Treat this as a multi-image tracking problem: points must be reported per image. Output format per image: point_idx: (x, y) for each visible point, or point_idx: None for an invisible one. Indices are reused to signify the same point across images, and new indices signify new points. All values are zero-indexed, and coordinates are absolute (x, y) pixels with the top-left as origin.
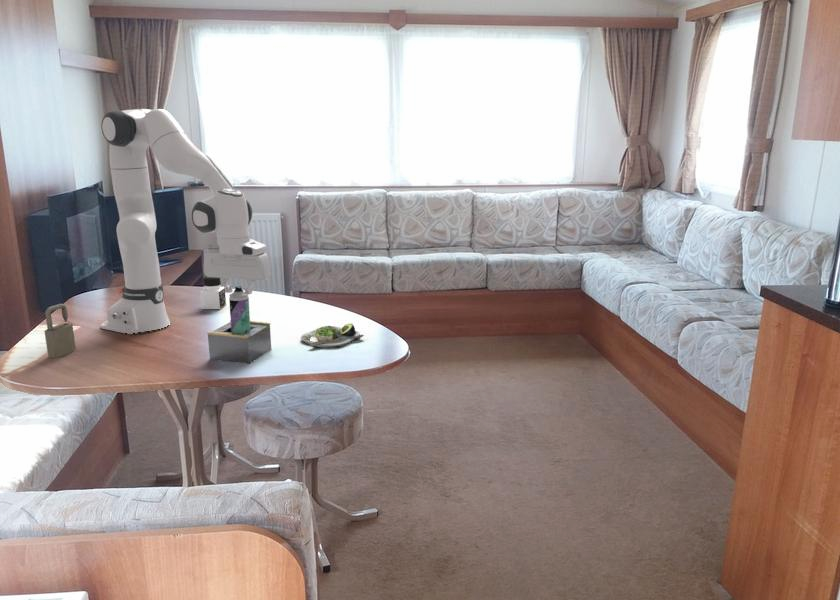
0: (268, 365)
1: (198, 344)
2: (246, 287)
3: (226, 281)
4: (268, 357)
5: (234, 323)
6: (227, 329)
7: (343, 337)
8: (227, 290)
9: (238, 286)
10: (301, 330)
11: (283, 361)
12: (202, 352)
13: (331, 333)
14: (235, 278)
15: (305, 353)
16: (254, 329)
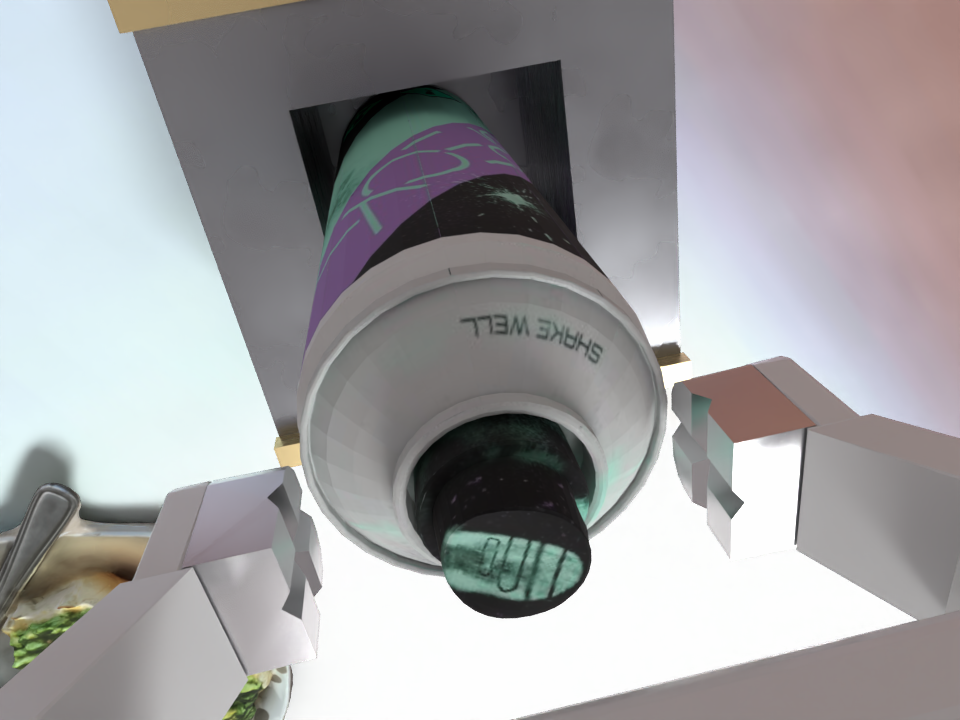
0: (25, 49)
1: (859, 178)
2: (303, 625)
3: (935, 594)
4: (188, 204)
5: (430, 135)
6: (569, 162)
7: (4, 675)
8: (740, 389)
9: (542, 587)
10: (397, 657)
11: (7, 188)
12: (737, 47)
13: (24, 659)
14: (521, 717)
15: (25, 396)
16: (306, 287)
